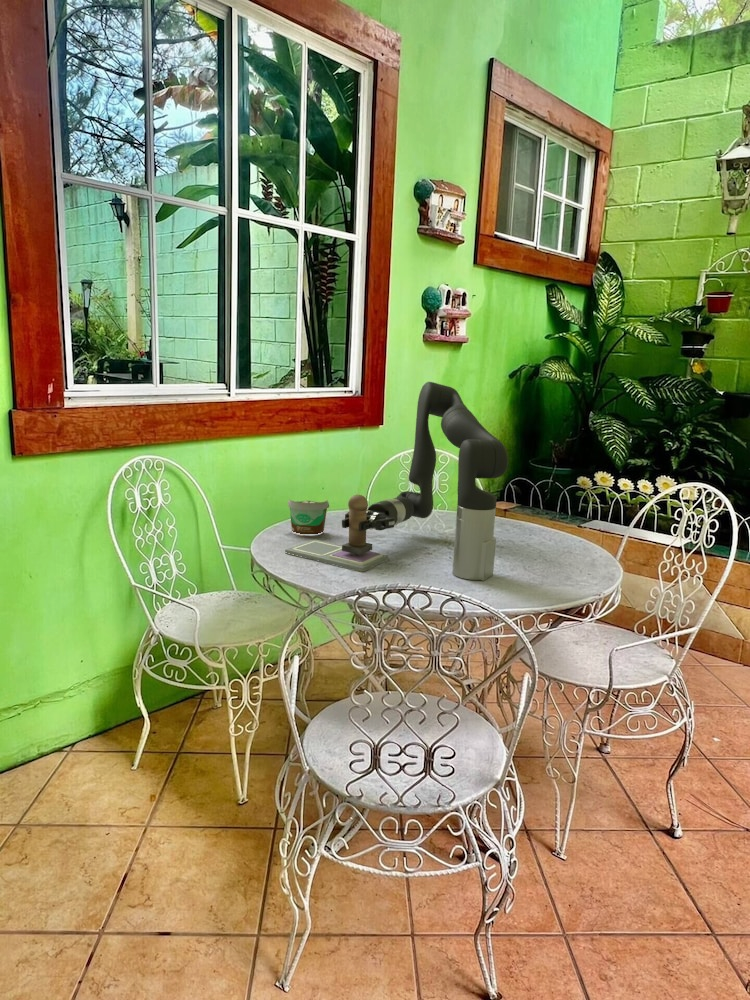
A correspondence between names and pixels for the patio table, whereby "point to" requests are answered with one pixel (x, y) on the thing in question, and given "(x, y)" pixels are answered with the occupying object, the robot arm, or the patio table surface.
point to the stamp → (357, 526)
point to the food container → (308, 516)
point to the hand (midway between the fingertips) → (351, 525)
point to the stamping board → (337, 555)
